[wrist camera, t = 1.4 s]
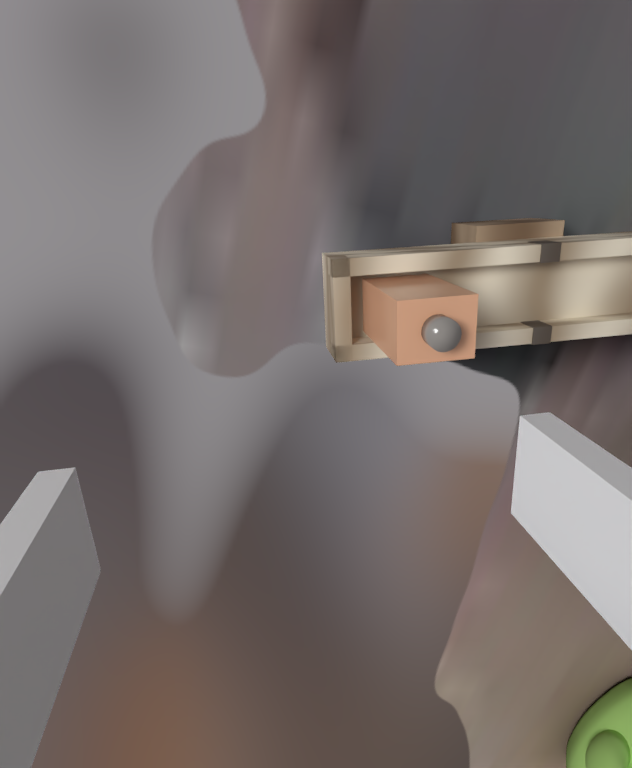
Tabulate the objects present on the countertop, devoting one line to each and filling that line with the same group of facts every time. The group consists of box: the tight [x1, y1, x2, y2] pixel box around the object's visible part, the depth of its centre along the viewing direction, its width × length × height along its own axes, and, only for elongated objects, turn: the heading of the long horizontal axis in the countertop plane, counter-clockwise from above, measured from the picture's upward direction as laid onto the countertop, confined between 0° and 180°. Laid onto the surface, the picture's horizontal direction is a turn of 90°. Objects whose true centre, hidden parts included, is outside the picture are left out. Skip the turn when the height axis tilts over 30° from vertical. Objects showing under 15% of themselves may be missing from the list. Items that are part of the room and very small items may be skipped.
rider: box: [362, 274, 479, 366], centre depth 27 cm, size 4×3×8 cm
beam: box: [322, 218, 632, 362], centre depth 34 cm, size 26×8×8 cm, turn 93°
